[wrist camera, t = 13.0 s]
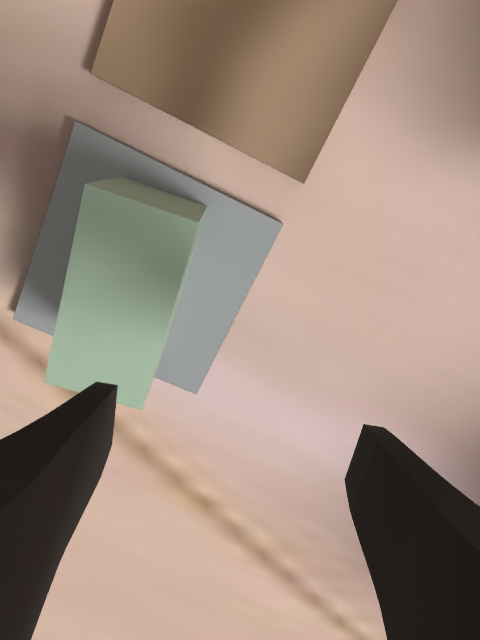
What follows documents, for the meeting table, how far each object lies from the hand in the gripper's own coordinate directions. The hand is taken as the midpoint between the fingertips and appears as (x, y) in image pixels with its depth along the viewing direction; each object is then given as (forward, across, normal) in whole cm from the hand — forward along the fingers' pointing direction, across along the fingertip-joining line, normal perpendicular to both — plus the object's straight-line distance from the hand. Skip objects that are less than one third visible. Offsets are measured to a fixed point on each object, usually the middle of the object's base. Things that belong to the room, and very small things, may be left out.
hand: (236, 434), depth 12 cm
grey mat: (+10, +5, -1) cm, 12 cm away
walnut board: (+10, +2, -13) cm, 17 cm away
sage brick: (+10, +5, -1) cm, 11 cm away
